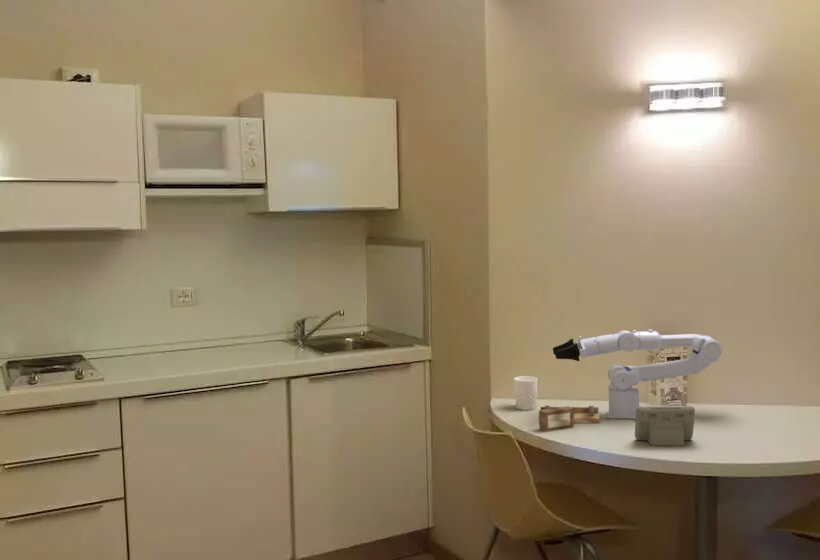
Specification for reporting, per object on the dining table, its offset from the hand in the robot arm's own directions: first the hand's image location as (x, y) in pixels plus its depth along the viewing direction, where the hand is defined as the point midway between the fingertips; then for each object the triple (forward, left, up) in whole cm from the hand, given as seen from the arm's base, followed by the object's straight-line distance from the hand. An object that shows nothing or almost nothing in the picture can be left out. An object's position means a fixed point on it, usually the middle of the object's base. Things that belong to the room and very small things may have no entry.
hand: (554, 353), depth 254 cm
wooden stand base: (-4, +4, -21) cm, 21 cm away
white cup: (+10, -11, -21) cm, 25 cm away
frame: (0, +13, -21) cm, 25 cm away
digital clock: (-30, +25, -21) cm, 45 cm away
